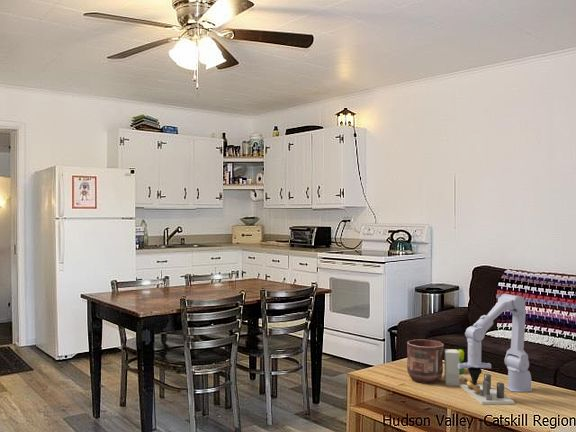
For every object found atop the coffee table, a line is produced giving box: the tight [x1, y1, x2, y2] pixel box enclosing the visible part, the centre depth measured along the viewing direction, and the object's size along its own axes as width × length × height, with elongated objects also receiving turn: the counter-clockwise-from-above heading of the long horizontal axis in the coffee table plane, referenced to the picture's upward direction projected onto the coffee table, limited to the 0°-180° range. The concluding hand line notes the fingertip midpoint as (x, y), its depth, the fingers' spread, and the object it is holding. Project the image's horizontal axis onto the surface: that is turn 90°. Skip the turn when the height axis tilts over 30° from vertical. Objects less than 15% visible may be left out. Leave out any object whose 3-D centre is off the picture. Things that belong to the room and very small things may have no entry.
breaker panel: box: [459, 373, 515, 406], centre depth 241 cm, size 14×24×7 cm, turn 4°
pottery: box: [406, 338, 445, 384], centre depth 263 cm, size 18×18×18 cm
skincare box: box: [443, 348, 461, 387], centre depth 258 cm, size 8×7×16 cm
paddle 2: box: [482, 380, 490, 397], centre depth 233 cm, size 1×4×7 cm, turn 3°
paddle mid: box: [466, 380, 480, 392], centre depth 240 cm, size 1×4×7 cm
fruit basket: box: [457, 348, 465, 374], centre depth 280 cm, size 11×9×11 cm
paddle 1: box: [460, 375, 469, 384], centre depth 247 cm, size 1×4×7 cm
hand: (474, 384), depth 240 cm, fingers closed, pressing on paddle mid
